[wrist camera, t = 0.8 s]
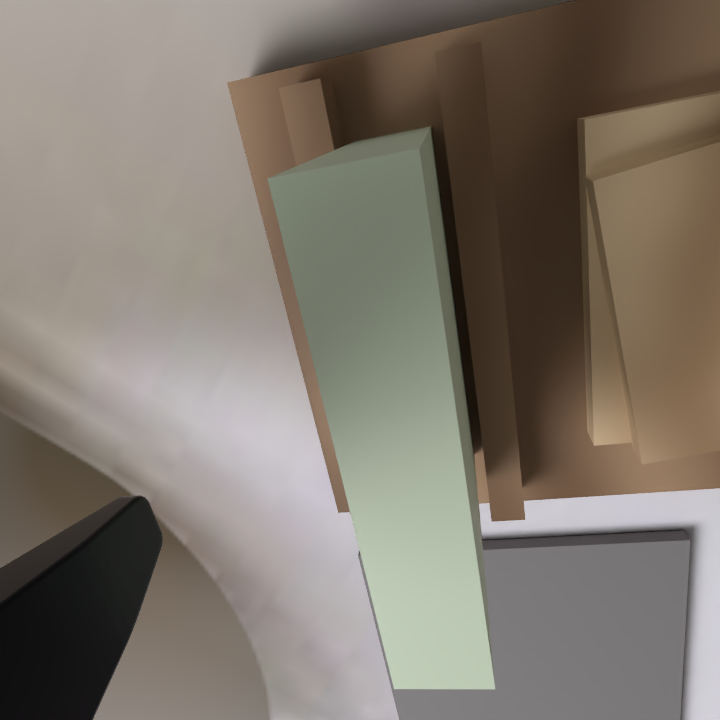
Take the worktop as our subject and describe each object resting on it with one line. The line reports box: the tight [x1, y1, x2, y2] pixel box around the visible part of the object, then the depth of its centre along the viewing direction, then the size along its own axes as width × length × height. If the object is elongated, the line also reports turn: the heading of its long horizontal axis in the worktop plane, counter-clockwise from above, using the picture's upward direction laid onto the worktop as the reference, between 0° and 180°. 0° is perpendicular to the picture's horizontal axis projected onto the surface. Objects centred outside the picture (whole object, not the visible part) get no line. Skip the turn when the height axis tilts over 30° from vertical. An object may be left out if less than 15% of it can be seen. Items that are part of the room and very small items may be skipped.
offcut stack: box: [577, 91, 720, 464], centre depth 14 cm, size 6×9×2 cm, turn 11°
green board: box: [267, 126, 495, 689], centre depth 13 cm, size 2×10×8 cm, turn 11°
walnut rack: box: [228, 0, 720, 521], centre depth 15 cm, size 16×14×4 cm
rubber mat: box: [358, 530, 691, 720], centre depth 23 cm, size 12×12×1 cm
